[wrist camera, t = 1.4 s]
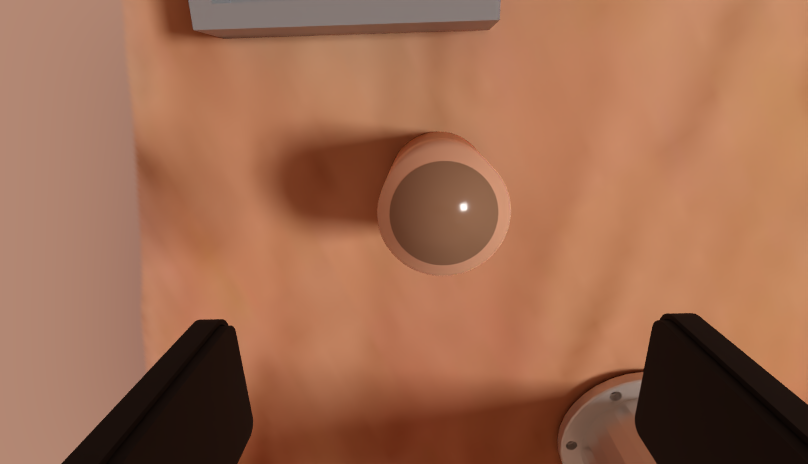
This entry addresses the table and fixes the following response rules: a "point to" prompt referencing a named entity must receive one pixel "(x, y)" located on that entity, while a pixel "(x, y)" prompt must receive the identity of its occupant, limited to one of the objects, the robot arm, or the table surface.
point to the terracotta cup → (443, 206)
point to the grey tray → (339, 16)
